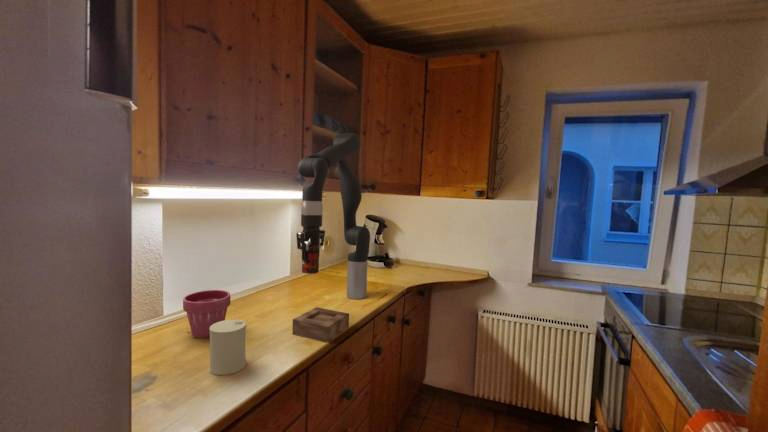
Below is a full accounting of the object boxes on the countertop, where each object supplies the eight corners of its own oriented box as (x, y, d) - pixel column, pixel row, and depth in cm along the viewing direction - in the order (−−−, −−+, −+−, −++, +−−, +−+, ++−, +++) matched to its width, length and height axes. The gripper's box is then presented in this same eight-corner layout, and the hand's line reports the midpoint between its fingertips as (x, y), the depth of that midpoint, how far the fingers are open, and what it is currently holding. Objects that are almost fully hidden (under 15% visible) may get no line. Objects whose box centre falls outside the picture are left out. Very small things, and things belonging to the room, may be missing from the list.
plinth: (316, 320, 128) (316, 307, 128) (348, 327, 123) (349, 313, 123) (292, 334, 116) (292, 319, 115) (327, 342, 110) (327, 326, 110)
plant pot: (173, 335, 111) (172, 297, 111) (210, 321, 124) (210, 287, 123) (203, 345, 106) (203, 304, 105) (239, 329, 118) (239, 293, 118)
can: (252, 366, 94) (252, 324, 93) (217, 379, 87) (217, 333, 86) (236, 355, 100) (237, 315, 99) (203, 366, 93) (203, 323, 92)
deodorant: (298, 272, 123) (299, 230, 122) (309, 269, 128) (310, 229, 127) (310, 274, 120) (312, 232, 119) (321, 271, 125) (323, 231, 124)
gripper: (315, 212, 131) (314, 255, 132) (290, 213, 118) (289, 261, 119) (331, 213, 128) (330, 257, 129) (307, 214, 115) (306, 264, 116)
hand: (310, 259), depth 124 cm, fingers closed on deodorant, 6 cm apart
